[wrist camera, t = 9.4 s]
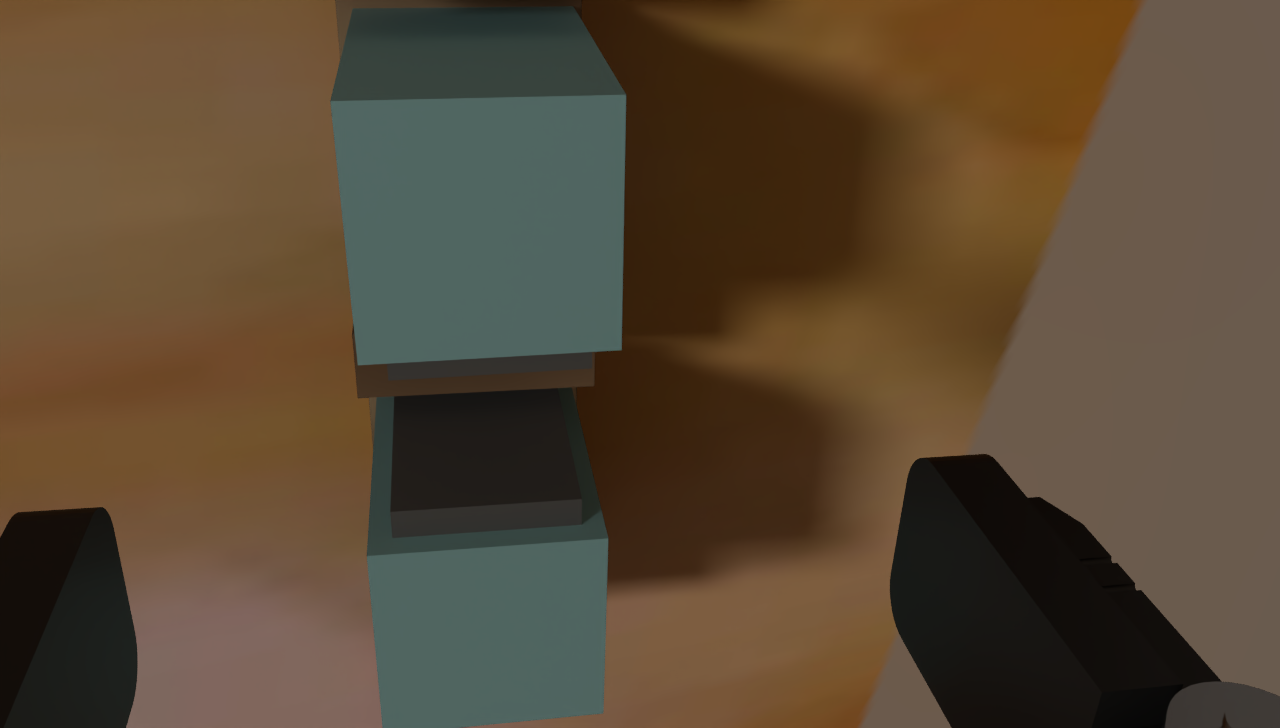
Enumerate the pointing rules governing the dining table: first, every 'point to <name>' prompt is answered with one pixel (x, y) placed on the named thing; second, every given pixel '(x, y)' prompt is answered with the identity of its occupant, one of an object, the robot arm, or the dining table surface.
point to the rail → (376, 381)
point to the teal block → (480, 190)
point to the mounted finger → (485, 560)
